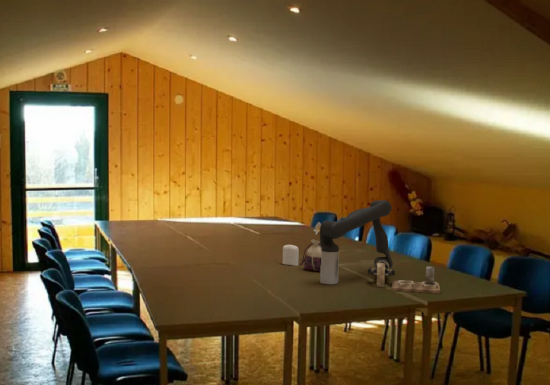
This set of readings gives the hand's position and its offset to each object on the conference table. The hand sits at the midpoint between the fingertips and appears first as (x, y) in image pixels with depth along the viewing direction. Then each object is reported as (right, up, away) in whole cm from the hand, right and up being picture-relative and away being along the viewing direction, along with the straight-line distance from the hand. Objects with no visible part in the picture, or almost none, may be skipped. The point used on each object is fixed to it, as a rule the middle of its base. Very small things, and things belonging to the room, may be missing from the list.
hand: (380, 274), depth 323 cm
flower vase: (-23, -2, +68) cm, 72 cm away
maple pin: (0, -7, +1) cm, 7 cm away
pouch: (-31, -4, +39) cm, 51 cm away
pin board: (+18, -7, -3) cm, 19 cm away
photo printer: (-46, -2, +58) cm, 74 cm away
